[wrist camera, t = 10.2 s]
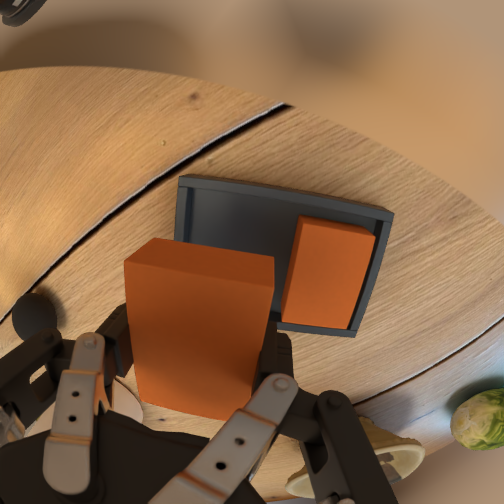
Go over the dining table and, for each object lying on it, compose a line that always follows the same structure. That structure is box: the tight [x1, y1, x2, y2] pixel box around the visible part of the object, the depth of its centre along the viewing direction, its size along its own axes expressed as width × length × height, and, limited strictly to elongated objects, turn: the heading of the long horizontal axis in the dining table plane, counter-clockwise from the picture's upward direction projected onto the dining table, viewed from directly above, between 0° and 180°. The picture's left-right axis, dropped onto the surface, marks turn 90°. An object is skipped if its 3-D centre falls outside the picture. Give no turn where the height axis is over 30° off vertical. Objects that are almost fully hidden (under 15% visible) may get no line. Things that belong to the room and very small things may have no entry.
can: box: [27, 379, 143, 437], centre depth 23 cm, size 12×12×20 cm
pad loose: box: [124, 238, 274, 421], centre depth 12 cm, size 8×6×3 cm
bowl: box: [285, 417, 425, 498], centre depth 27 cm, size 18×18×10 cm
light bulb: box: [12, 293, 57, 341], centre depth 26 cm, size 6×6×10 cm
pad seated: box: [281, 214, 376, 329], centre depth 21 cm, size 8×6×3 cm
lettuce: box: [450, 388, 504, 450], centre depth 24 cm, size 12×21×11 cm, turn 70°
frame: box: [174, 174, 394, 338], centre depth 22 cm, size 12×17×2 cm
